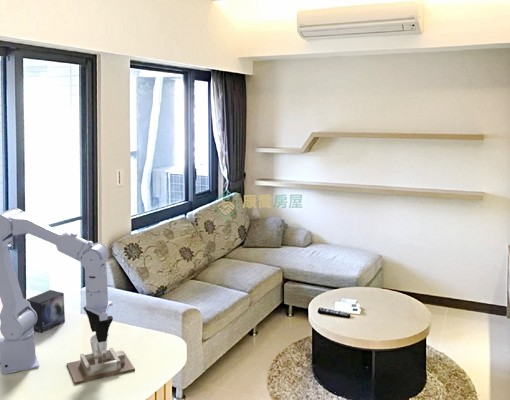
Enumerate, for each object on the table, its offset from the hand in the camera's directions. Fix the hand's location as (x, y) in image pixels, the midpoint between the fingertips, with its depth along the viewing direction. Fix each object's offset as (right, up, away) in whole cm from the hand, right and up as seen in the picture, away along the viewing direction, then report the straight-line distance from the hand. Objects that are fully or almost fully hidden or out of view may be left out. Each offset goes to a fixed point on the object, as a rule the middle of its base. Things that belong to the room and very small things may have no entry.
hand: (98, 336), depth 151 cm
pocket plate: (0, -9, +2) cm, 9 cm away
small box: (-25, -4, +30) cm, 39 cm away
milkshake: (0, -9, +2) cm, 9 cm away
